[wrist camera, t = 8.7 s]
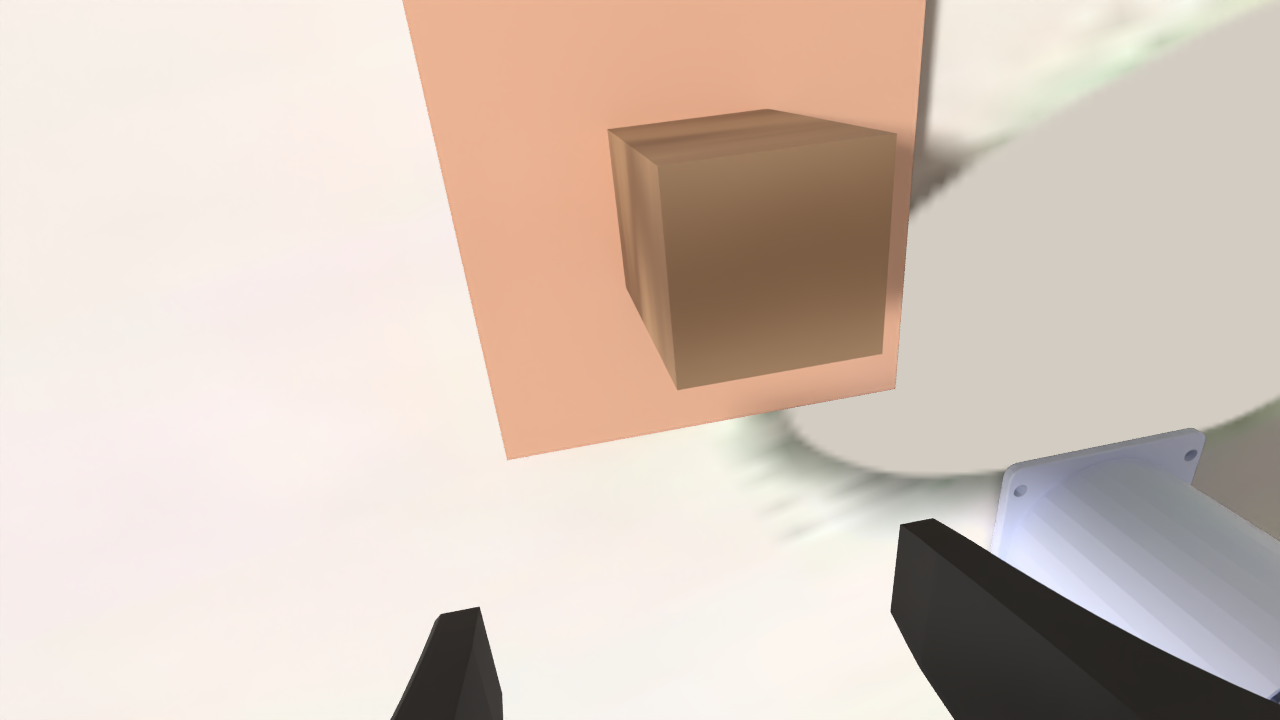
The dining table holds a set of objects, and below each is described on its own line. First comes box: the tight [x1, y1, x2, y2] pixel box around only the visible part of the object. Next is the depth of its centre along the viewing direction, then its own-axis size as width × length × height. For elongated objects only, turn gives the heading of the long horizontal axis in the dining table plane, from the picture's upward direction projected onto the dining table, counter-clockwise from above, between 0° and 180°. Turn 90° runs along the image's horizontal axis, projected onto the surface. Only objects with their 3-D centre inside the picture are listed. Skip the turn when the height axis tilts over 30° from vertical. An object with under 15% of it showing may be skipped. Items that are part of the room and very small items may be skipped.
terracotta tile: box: [402, 0, 926, 460], centre depth 17 cm, size 13×12×1 cm
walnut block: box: [607, 109, 897, 390], centre depth 14 cm, size 4×4×6 cm
